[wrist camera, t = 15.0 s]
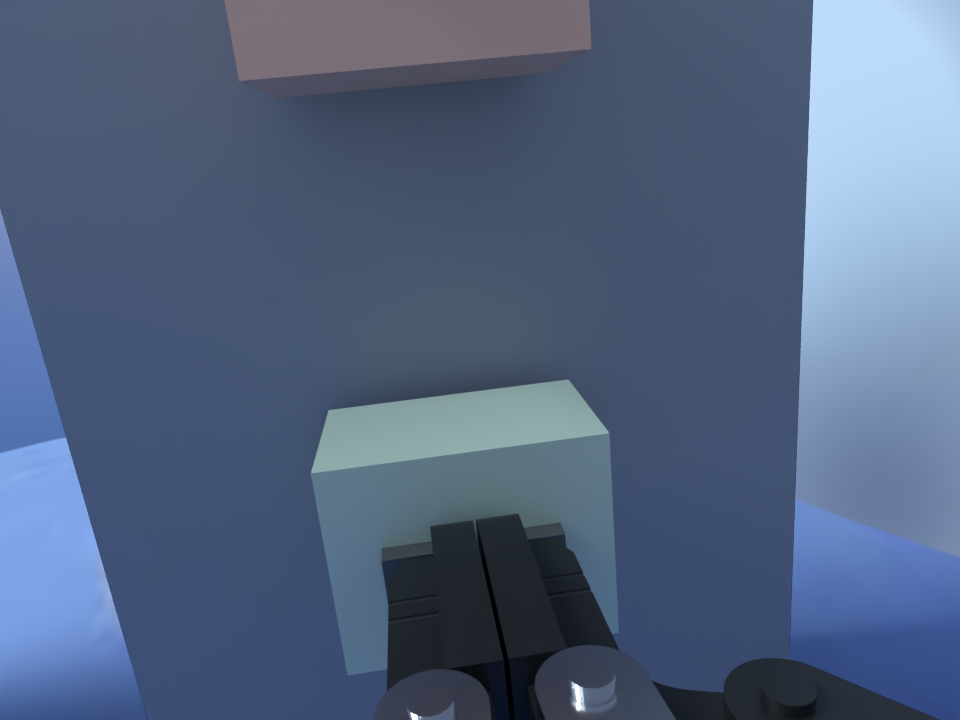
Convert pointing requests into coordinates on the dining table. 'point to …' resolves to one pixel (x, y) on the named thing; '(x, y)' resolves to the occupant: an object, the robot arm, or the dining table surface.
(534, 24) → the pink rectangular block
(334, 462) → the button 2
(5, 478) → the dining table surface
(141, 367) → the large grey rectangular box
